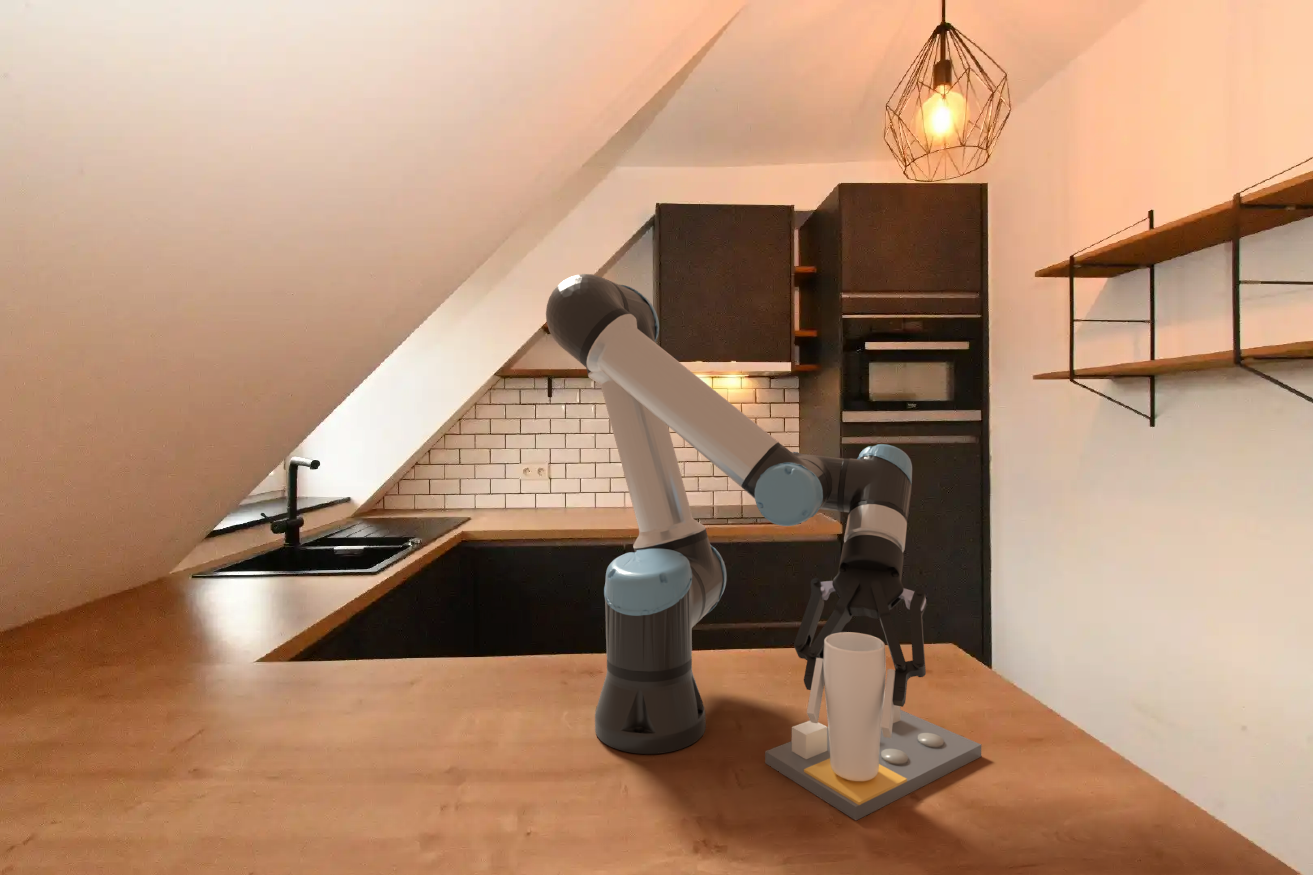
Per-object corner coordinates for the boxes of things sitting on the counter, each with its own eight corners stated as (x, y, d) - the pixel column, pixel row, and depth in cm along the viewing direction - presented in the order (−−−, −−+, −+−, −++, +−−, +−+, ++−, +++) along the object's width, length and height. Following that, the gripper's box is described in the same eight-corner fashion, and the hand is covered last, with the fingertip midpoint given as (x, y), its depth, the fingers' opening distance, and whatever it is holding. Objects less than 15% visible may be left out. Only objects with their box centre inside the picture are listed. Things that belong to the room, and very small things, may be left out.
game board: (765, 763, 83) (765, 727, 83) (887, 714, 96) (887, 683, 96) (855, 820, 72) (855, 778, 71) (981, 756, 84) (981, 720, 84)
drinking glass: (876, 794, 73) (877, 656, 72) (815, 776, 76) (815, 645, 76) (891, 765, 78) (892, 637, 78) (833, 750, 82) (833, 628, 81)
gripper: (959, 572, 86) (950, 757, 72) (801, 557, 95) (766, 720, 81) (957, 537, 81) (946, 730, 67) (790, 526, 90) (751, 694, 76)
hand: (848, 724), depth 74 cm, fingers open, 7 cm apart
